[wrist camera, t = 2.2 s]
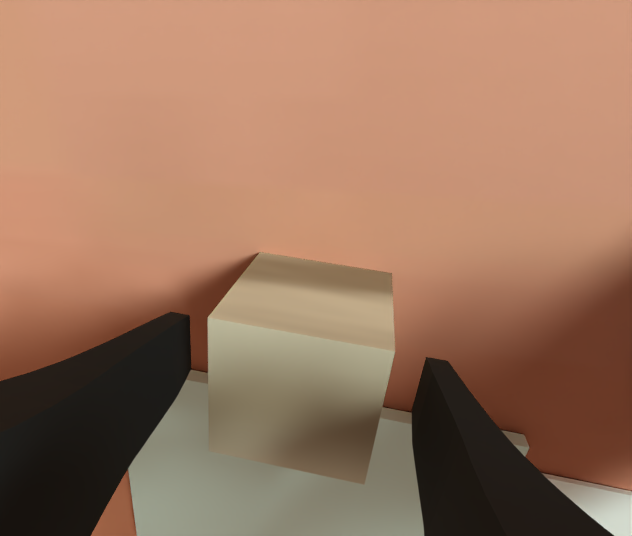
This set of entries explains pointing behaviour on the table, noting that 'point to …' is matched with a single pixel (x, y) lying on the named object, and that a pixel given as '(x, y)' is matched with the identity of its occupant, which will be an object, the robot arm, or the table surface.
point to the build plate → (269, 483)
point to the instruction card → (599, 503)
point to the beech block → (301, 365)
